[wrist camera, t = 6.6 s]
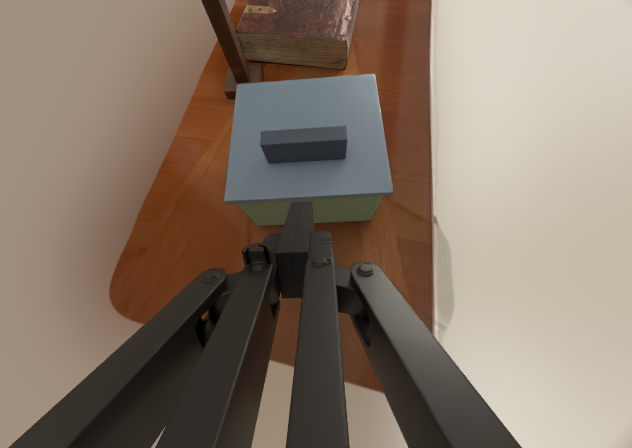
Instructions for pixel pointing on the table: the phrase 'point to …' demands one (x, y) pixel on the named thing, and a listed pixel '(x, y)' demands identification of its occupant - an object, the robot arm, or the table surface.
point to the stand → (231, 49)
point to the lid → (307, 141)
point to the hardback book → (298, 31)
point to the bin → (314, 210)
